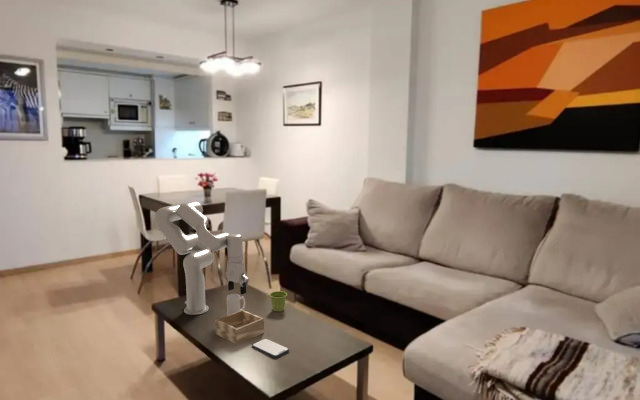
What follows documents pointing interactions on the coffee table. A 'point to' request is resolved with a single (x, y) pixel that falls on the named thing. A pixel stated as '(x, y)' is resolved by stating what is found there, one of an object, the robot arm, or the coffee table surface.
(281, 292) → the plant pot
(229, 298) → the mug
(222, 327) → the open wooden crate
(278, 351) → the smartphone
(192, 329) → the coffee table surface
